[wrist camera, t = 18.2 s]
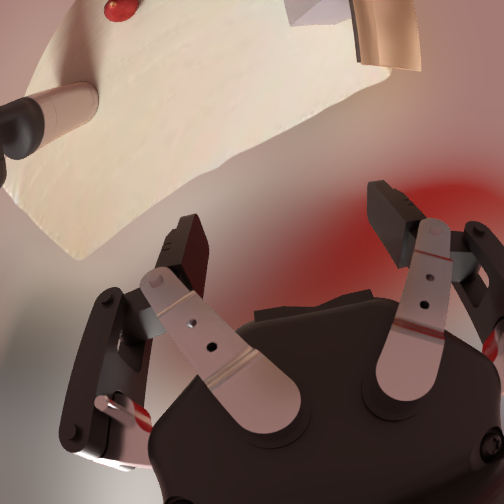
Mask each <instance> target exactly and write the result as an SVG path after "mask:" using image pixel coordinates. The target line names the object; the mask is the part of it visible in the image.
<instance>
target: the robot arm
mask: <svg viewBox="0 0 504 504" xmlns="http://www.w3.org/2000/svg"><path fill="white" fill-rule="evenodd" d="M97 108H98V94H97V92H96V89H95V88H94V87H93V86H92V85H91V84H89V83H87V82H77V83H73V84H68V85H64V86H60V87H56V88H52V89H49V90H45V91H42V92H38V93H35V94H32V95H29V96H26V97H23V98H20V99H17V100H15V101H12V102H10V103H8V104H6V105H3V106H0V188H1V187H2V185H3V184H4V182H5V180H6V176H7V171H6V163H5V159H4V154H5V155H6V156H7V157H9V158H11V159H14V160H20V159H23V158H25V157H27V156H29V155H30V154H32V153H34V152H35V151H37V150H38V149H40V148H42V147H43V146H45V145H46V144H48V143H50V142H52V141H53V140H55V139H57V138H59V137H60V136H62V135H64V134H66V133H68V132H70V131H72V130H74V129H76V128H78V127H80V126H82V125H84V124H86V123H87V122H89V121H90V120H91V119H92V118H93V117H94V115H95V113H96V111H97ZM367 216H368V220H369V223H370V224H371V226H372V227H373V229H374V231H375V232H376V234H377V235H378V237H379V238H380V240H381V241H382V243H383V244H384V246H385V248H386V249H387V251H388V253H389V254H390V256H391V258H392V259H393V261H394V262H395V264H396V266H397V268H398V269H399V268H403V267H408V268H409V272H408V275H407V279H406V283H405V286H404V290H403V293H402V297H401V300H400V303H398V302H396V301H394V300H390V299H386V298H378V297H373V295H372V292H371V290H370V289H368V290H364V291H359V292H355V293H350V294H345V295H342V296H340V297H337V298H335V299H333V300H330V301H328V302H326V303H324V304H321V305H319V306H316V307H289V306H288V307H286V306H282V307H277V308H271V309H265V310H259V311H254V318H255V320H253V321H251V322H249V323H247V324H245V325H243V326H241V327H240V328H238V329H237V330H236V331H234V330H233V329H232V328H231V327H230V326H229V325H228V324H227V323H226V322H224V320H223V319H222V318H220V317H219V316H218V314H217V313H216V312H215V311H213V309H212V308H211V307H209V305H208V304H207V303H206V302H205V301H204V300H203V295H204V287H205V280H206V273H207V265H208V259H209V245H208V241H207V238H206V235H205V233H204V230H203V227H202V225H201V222H200V219H199V217H198V215H197V214H192V215H187V216H183V217H181V218H180V220H179V223H178V226H177V228H176V229H173V230H172V231H171V232H170V233H169V234H168V235H167V236H166V238H165V241H164V245H163V246H162V249H161V252H160V255H159V257H158V260H157V263H156V266H155V269H153V270H151V271H149V272H148V273H147V274H145V276H144V277H143V278H142V279H141V281H140V287H139V288H137V289H136V290H133V291H131V292H128V293H126V294H123V292H122V291H121V289H120V288H117V287H112V288H109V289H107V290H105V291H103V292H102V293H101V294H100V295H99V296H98V297H97V299H96V301H95V303H94V306H93V308H92V311H91V314H90V316H89V319H88V322H87V325H86V328H85V331H84V334H83V337H82V340H81V343H80V346H79V349H78V352H77V356H76V359H75V362H74V366H73V370H72V373H71V377H70V381H69V385H68V389H67V393H66V397H65V402H64V406H63V411H62V416H61V422H60V427H59V439H60V442H61V445H62V446H63V448H64V449H66V450H67V451H69V452H70V453H73V454H75V455H78V456H80V457H83V458H85V459H88V460H91V461H93V462H96V463H99V464H102V465H105V466H108V467H111V468H115V469H118V470H122V471H131V470H133V469H135V467H140V468H147V469H153V470H154V472H155V474H156V477H157V479H158V482H159V484H160V488H161V491H162V496H163V504H504V436H503V433H502V429H501V421H500V400H501V397H502V396H504V246H503V245H502V244H501V242H500V241H499V240H498V239H497V237H496V236H495V235H494V234H493V233H492V232H491V230H490V229H489V228H488V227H487V226H485V225H484V224H482V223H480V222H476V221H469V222H467V223H466V225H465V228H464V232H459V231H450V228H449V227H448V225H447V224H445V223H444V222H442V221H440V220H438V219H433V218H427V217H426V216H425V215H424V214H423V213H422V212H421V211H420V210H419V209H418V208H417V207H416V206H415V205H414V204H413V202H411V201H410V200H409V198H408V197H407V196H406V195H405V194H404V193H402V192H400V191H398V190H396V189H392V188H391V187H390V186H389V185H388V184H387V183H386V182H385V181H384V180H379V181H372V182H369V183H368V186H367ZM481 266H482V267H483V268H484V270H485V272H486V273H487V275H488V278H489V287H488V288H487V287H486V285H485V283H484V282H483V280H482V278H481V277H480V275H479V274H478V272H479V270H480V267H481ZM451 283H452V284H453V286H454V288H455V290H456V291H457V293H458V295H459V297H460V299H461V301H462V303H463V304H464V306H465V308H466V310H467V312H468V314H469V316H470V318H471V320H472V322H473V324H474V327H475V328H476V331H477V333H478V335H479V337H480V339H481V342H482V344H483V348H482V353H481V352H480V351H478V350H476V349H475V348H473V347H472V346H470V345H469V344H467V343H465V342H464V341H462V340H461V339H459V338H457V337H456V336H454V335H452V334H451V333H449V332H448V331H446V330H445V329H444V328H445V324H446V317H447V311H448V304H449V296H450V288H451ZM166 332H168V334H169V335H170V336H171V338H172V339H173V341H174V342H175V344H176V345H177V347H178V348H179V349H180V351H181V352H182V353H183V355H184V356H185V358H186V359H187V360H188V362H189V363H190V364H191V366H192V367H193V368H194V370H195V371H196V372H197V375H196V376H195V378H194V379H193V380H192V381H191V382H190V384H189V385H188V386H187V387H186V388H185V389H184V391H183V392H182V393H181V394H180V395H179V396H178V398H177V399H176V400H175V401H174V402H173V403H172V405H171V406H170V407H169V408H168V409H167V410H166V412H165V413H164V414H163V415H162V416H161V417H160V418H159V420H158V421H157V422H156V423H155V425H154V426H153V427H152V425H151V417H150V414H149V413H148V411H147V410H146V409H144V400H145V391H146V382H147V375H148V368H149V360H150V354H151V347H152V341H153V338H154V337H156V336H159V335H161V334H164V333H166ZM119 339H120V340H121V342H120V346H119V350H117V345H118V341H119Z"/></svg>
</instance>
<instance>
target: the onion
mask: <svg viewBox="0 0 504 504" xmlns="http://www.w3.org/2000/svg"><path fill="white" fill-rule="evenodd" d="M137 7H138V1H137V0H109V1H108V2H107V3H106V5H105V7H104V14H105V16H106V18H107V19H109V20H110V21H113V22H122V21H125V20H127V19H129V18H130V17H132V16H133V15H134V14H135V12H136V10H137Z"/></svg>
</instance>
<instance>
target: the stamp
mask: <svg viewBox="0 0 504 504" xmlns="http://www.w3.org/2000/svg"><path fill="white" fill-rule="evenodd" d="M349 5H350V11H351V17H352V24H353V31H354V39H355V47H356V57H357V62H360V63H361V64H362V65H374V66H383V67H391V68H399V69H407V70H414V71H421V56H420V44H419V35H418V27H417V20H416V13H415V7H414V2H413V0H349Z"/></svg>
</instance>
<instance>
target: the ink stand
mask: <svg viewBox="0 0 504 504" xmlns="http://www.w3.org/2000/svg"><path fill="white" fill-rule="evenodd" d="M284 4H285V8H286V11H287V15H288V19H289V23H290V27H291V26H304V25H335V24H337V23H340V22H342V21H345V20H347V19H350V18H352V17H351V11H350V5H349V0H284Z"/></svg>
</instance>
